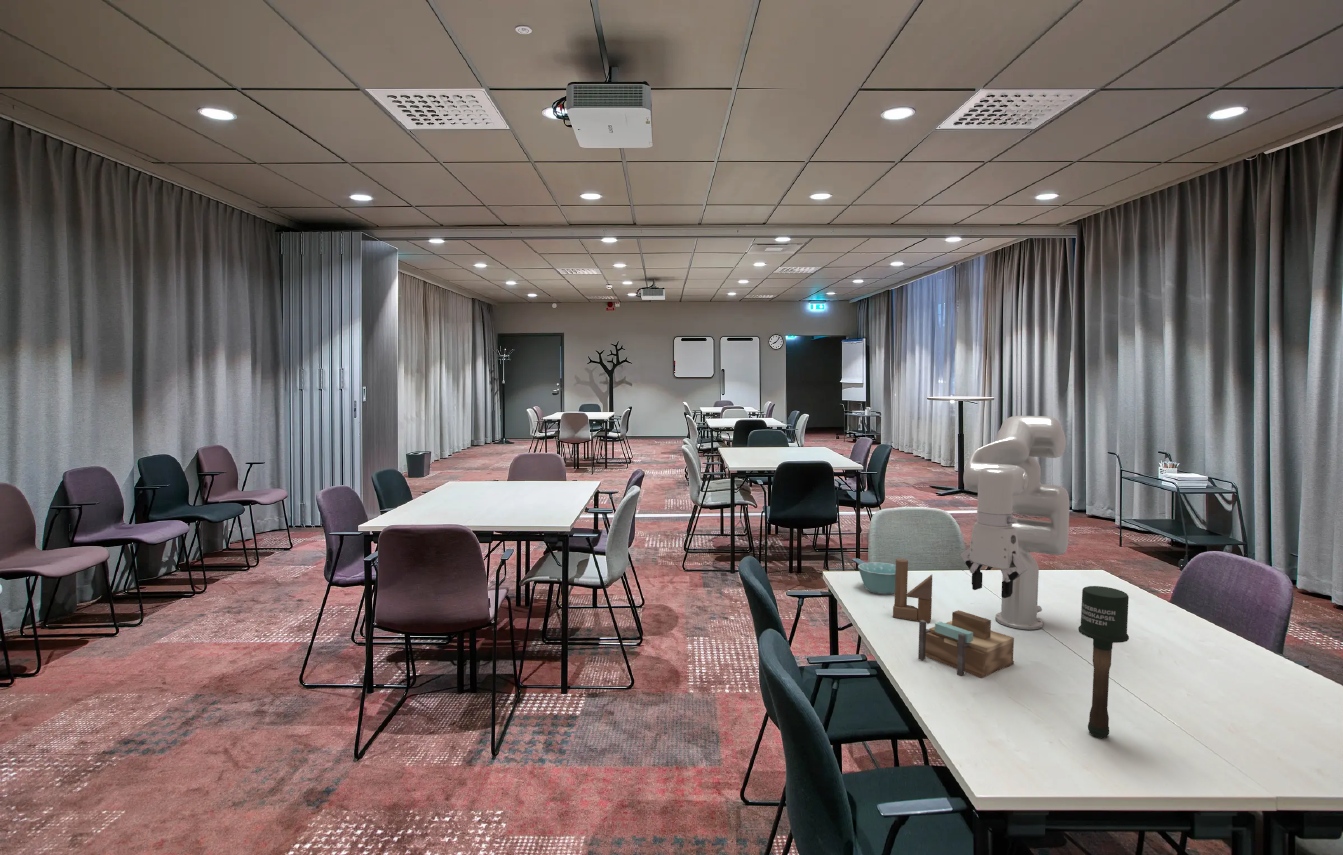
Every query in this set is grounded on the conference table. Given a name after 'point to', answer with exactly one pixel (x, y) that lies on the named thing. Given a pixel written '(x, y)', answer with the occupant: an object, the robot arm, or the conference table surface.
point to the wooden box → (963, 654)
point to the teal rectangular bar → (952, 631)
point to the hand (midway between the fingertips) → (991, 592)
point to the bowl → (878, 577)
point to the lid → (976, 632)
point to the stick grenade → (1102, 645)
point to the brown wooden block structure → (911, 595)
